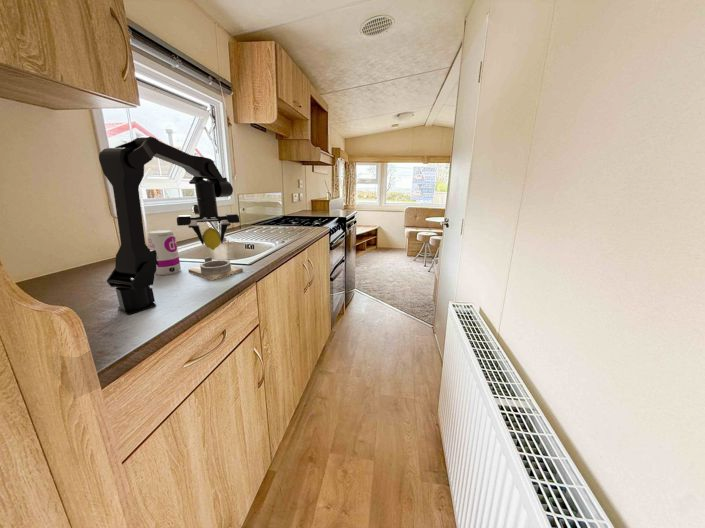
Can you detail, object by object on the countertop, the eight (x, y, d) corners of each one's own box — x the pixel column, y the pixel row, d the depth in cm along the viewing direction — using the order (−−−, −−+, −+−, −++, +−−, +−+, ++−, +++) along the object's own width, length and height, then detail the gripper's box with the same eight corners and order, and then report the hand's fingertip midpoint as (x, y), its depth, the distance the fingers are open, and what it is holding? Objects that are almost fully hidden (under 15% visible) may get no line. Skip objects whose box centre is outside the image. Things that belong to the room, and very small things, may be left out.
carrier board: (212, 280, 94) (210, 268, 92) (188, 272, 101) (186, 261, 100) (243, 271, 103) (241, 260, 102) (219, 264, 111) (217, 254, 110)
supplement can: (186, 269, 105) (179, 230, 100) (168, 276, 97) (160, 234, 93) (167, 268, 106) (160, 229, 102) (148, 274, 98) (140, 233, 94)
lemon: (217, 251, 95) (214, 228, 93) (201, 251, 95) (198, 228, 93) (224, 248, 100) (222, 226, 98) (209, 247, 100) (206, 226, 98)
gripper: (234, 196, 104) (238, 237, 108) (175, 197, 95) (183, 241, 100) (237, 198, 94) (241, 243, 99) (172, 199, 86) (181, 248, 90)
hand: (212, 243), depth 97 cm, fingers closed on lemon, 5 cm apart
